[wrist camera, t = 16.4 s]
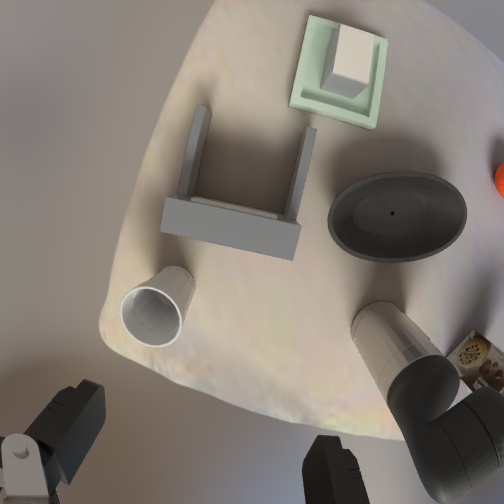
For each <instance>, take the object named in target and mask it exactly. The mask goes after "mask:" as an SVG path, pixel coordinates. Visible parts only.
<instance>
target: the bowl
mask: <svg viewBox="0 0 504 504" xmlns="http://www.w3.org/2000/svg"><path fill="white" fill-rule="evenodd" d="M391 212H392V215H391ZM466 219H467V207H466V203H465V200H464V198H463V196H462V195H461V193H460V192H459V191H458V189H457V188H456V187H454V186H453V185H452V184H451V183H449V182H448V181H446V180H444V179H442V178H439V177H437V176H434V175H430V174H426V173H420V172H390V173H384V174H379V175H375V176H371V177H368V178H365V179H363V180H360V181H358V182H356V183H354V184H352V185H351V186H349V187H348V188H346V189H345V190H344V191H343V192H341V193H340V194H339V195H338V197H337V198H336V199H335V200H334V202H333V204H332V205H331V208H330V210H329V214H328V228H329V232H330V234H331V236H332V238H333V240H334V241H335V242H336V244H337V245H338V246H339V247H341V248H342V249H343V250H344V251H346V252H347V253H349V254H351V255H353V256H356V257H358V258H361V259H364V260H369V261H374V262H383V263H400V262H409V261H415V260H419V259H423V258H426V257H430V256H432V255H435V254H437V253H439V252H441V251H443V250H444V249H446V248H447V247H449V246H450V245H451V244H452V243H454V242H455V241H456V239H457V238H458V237H459V236H460V234H461V233H462V231H463V229H464V227H465V224H466Z"/></svg>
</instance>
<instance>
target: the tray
mask: <svg viewBox="0 0 504 504" xmlns="http://www.w3.org/2000/svg"><path fill="white" fill-rule="evenodd" d="M339 24H340V25H341V23H338V22H334V21H331V20H327V19H323V18H320V17H316V16H312V15H309V18H308V21H307V25H306V30H305V34H304V39H303V43H302V48H301V52H300V57H299V61H298V66H297V70H296V75H295V79H294V84H293V88H292V93H291V97H290V102H289V106H288V107H291V108H295V109H299V110H303V111H307V112H311V113H315V114H319V115H322V116H326V117H329V118H333V119H336V120H340V121H343V122H346V123H349V124H353V125H356V126H359V127H362V128H365V129H368V130H372V129H374V128H376V124H377V118H378V112H379V106H380V99H381V93H382V86H383V79H384V71H385V63H386V54H387V45H388V40H387V39H384V38H382V37H379V36H376V35H375V41H374V50H373V58H372V65H371V73H370V79H369V86H368V87H366V88H365V89H364V90H363V91H362V92H361V93H359V94H358V95H357V96H356V97H355V98H354V99H351V98H348V97H345V96H341V95H338V94H334V93H331V92H327V91H324V90H320V85H321V80H322V75H323V70H324V64H325V59H326V54H327V48H328V44H329V42H330V40H331V38H332V36H333V34H334V32H335V30H336V28H337V27H338V25H339ZM343 25H344V24H343ZM346 26H347V25H346ZM349 27H350V26H349ZM353 28H354V27H353ZM356 29H357V28H356ZM364 32H365V31H364ZM367 33H368V32H367ZM370 34H371V33H370ZM373 35H374V34H373Z"/></svg>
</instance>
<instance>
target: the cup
mask: <svg viewBox="0 0 504 504" xmlns="http://www.w3.org/2000/svg"><path fill="white" fill-rule="evenodd" d="M194 292H195V282H194V279H193V277H192V276H191V274H190V273H189V272H188V271H187V270H185V269H184V268H182V267H179V266H168V267H166V268H164V269H162V270H161V271H160V272H159V273H158V274H156V275H155V276H153V277H152V278H150V279H149V280H147V281H146V282H143V283H142V284H140V285H138V286H137V287H135V288H133V289H132V290H130V291H129V292H128V293H127V294H126V295H125V296H124V297H123V299H122V302H121V305H120V317H121V321H122V324H123V326H124V328H125V329H126V331H127V332H128V333H129V334H130V336H131V337H133V338H134V339H135V340H136V341H138V342H140V343H141V344H144V345H146V346H150V347H163V346H167V345H169V344H171V343H172V342H174V341H175V340H176V339H177V337H178V336H179V334H180V332H181V329H182V326H183V323H184V319H185V316H186V313H187V311H188V308H189V305H190V302H191V299H192V297H193V295H194Z"/></svg>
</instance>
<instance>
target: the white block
mask: <svg viewBox="0 0 504 504" xmlns="http://www.w3.org/2000/svg"><path fill="white" fill-rule="evenodd" d="M374 41H375V35H373V34H370V33H367V32H364V31H362V30H359V29H356V28H353V27H349V26H346V25H343V24H341V25H340V24H339V25H338V27H337V28H336V30H335V32H334V34H333V36H332V38H331V40H330V42H329V44H328V48H327V54H326V59H325V64H324V70H323V75H322V80H321V85H320V90H324V91H327V92H331V93H334V94H338V95H341V96H345V97H348V98H351V99H354V98H355V97H356V96H357V95H358V94H359V93H361V92H362V91H363V90H364V89H365V88H366V87H368V86H369V79H370V73H371V65H372V58H373V50H374Z"/></svg>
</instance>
